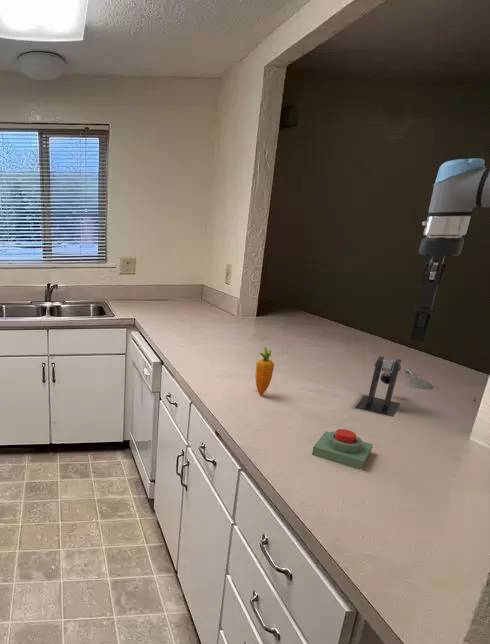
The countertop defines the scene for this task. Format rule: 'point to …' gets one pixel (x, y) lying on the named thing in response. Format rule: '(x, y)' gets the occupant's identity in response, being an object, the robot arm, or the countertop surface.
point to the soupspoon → (417, 381)
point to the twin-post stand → (386, 405)
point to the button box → (342, 450)
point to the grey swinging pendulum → (387, 371)
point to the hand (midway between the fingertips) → (417, 339)
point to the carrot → (264, 372)
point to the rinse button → (345, 436)
